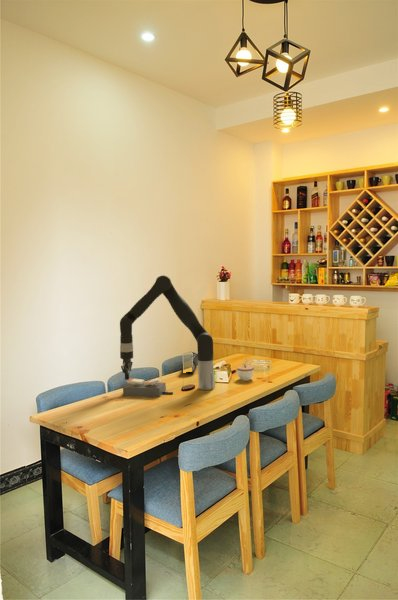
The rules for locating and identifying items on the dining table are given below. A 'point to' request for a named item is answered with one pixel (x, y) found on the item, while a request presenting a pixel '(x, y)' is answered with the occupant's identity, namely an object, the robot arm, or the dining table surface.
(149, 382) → the rocker inner
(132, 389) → the switch box
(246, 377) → the lidded jar
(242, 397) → the dining table surface
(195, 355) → the clear pitcher
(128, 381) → the rocker outer
